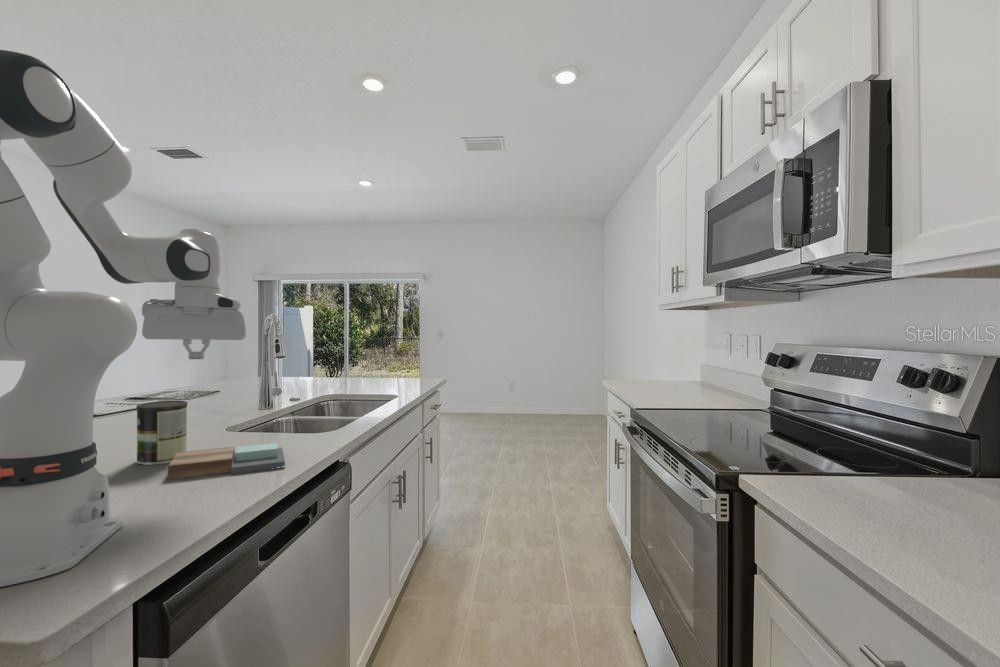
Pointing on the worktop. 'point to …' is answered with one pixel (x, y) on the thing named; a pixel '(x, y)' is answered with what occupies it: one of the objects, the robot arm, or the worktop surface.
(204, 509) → the worktop surface
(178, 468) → the brown square plate
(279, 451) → the grey flat slab
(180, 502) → the worktop surface
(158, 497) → the worktop surface
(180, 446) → the coffee can
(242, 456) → the block
